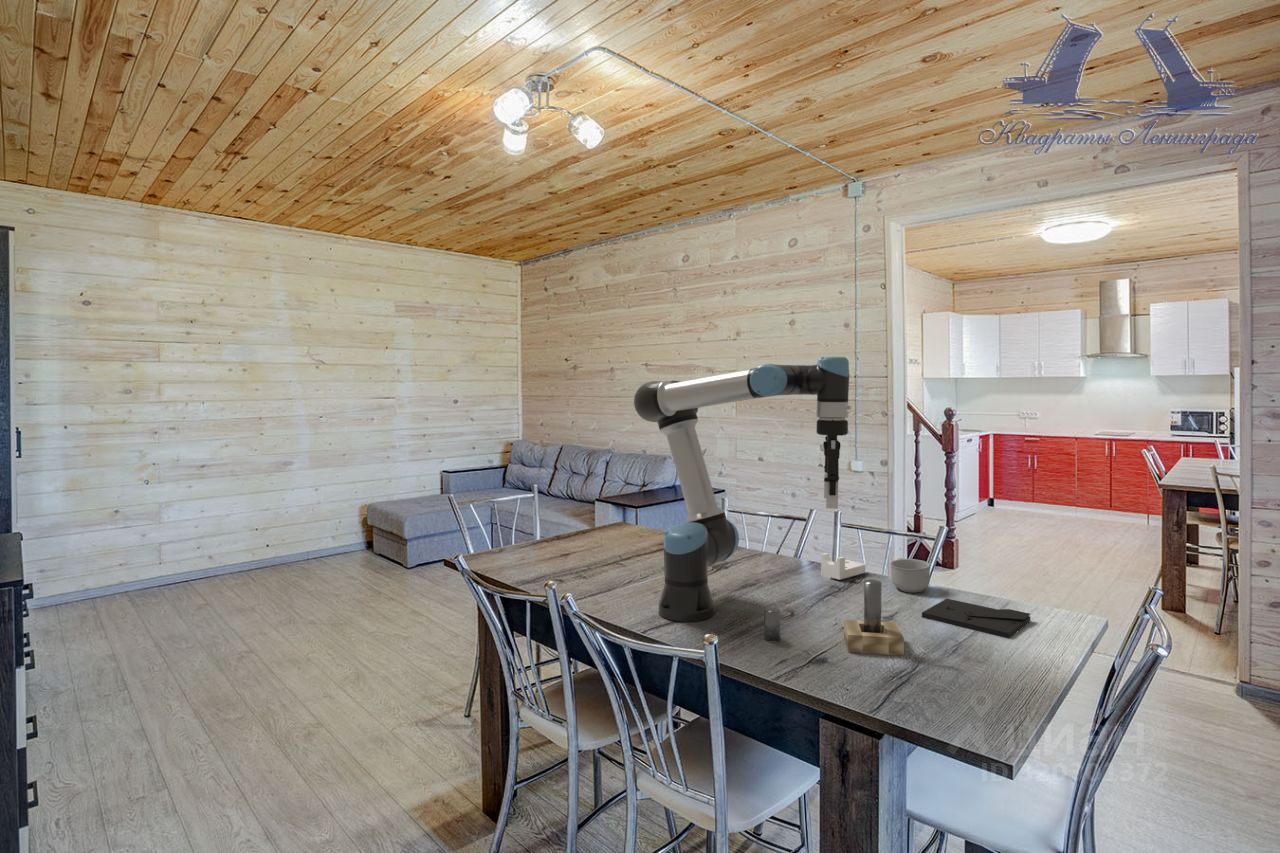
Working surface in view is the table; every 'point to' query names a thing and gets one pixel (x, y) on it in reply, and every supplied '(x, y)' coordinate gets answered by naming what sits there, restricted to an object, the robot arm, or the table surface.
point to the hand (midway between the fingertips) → (830, 503)
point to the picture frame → (978, 617)
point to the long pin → (872, 606)
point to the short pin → (772, 624)
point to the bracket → (840, 567)
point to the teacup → (910, 574)
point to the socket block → (873, 638)
